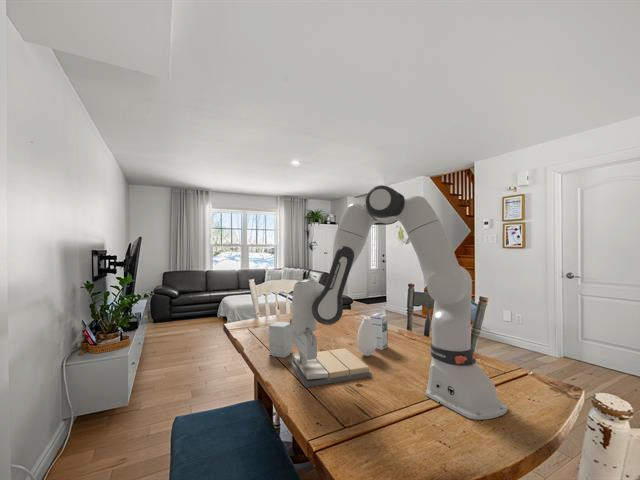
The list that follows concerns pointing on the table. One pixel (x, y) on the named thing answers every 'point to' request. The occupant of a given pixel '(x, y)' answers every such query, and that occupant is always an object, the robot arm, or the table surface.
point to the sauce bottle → (366, 337)
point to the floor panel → (324, 380)
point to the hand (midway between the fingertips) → (303, 363)
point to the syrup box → (380, 330)
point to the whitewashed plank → (310, 368)
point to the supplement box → (280, 339)
